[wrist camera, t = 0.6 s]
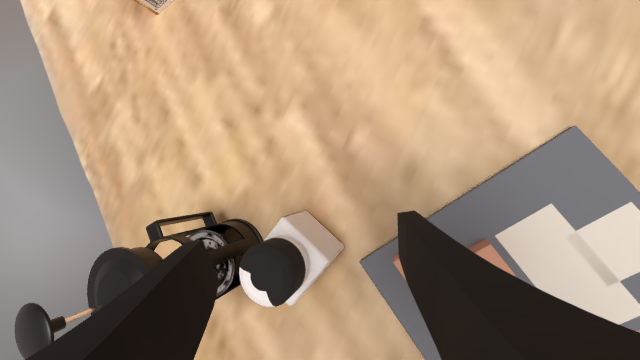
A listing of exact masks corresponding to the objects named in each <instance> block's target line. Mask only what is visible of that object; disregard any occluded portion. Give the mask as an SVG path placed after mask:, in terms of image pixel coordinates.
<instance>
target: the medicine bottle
mask: <svg viewBox="0 0 640 360" xmlns="http://www.w3.org/2000/svg"><path fill="white" fill-rule="evenodd" d="M343 249H344V245H343V244H342V243H341V242H340V241H339V240H338V239H337V238H335V237H334V236H333V235H332V234H331V233H330V232H329V231H328V230H327V229H326V228H325V227H324V226H323V225H321V224H320V223H319V222H318V221H317V220H316V219H315V218H314V217H313V216H312V215H311V214H310V213H309V212H307V211H302V212H298V213H295V214H291V215H288V216H285V217H282V218H281V219H280V220H279V222H278V223H277V224H276V225H275V227H274V228H273V229H272V231H271V232H270V233H269V235H268V236H267V237H266V238H265V240H264V241H263V242H260V243H258V244H256V245H254V246H252V247H250V248H249V249H248V250H247V251H246V252H245V254H244V255H243V257H242V259H241V262H240V268H239V275H240V281H241V284H242V287H243V289H244V291H245V292H246V294H247V295H248V296H249V297H250V298H251V299H252V300H253V301H254V302H256V303H258V304H259V305H262V306H266V307H276V306H279V305H281V304H283V303H284V302H286V303H287V304H288V305H289V306H292V305H293V304H294V303H295V302H296V301H297V300H298V299H299V298H300V297H301V296H302V295H303V294H304V293H305V292H306V291H307V290H308V289H309V288H310V286H311V285H312V284H313V283H314V282H315V281H316V280H317V279H318V278H319V276H320V275H321V274H322V273H323V272H324V271H325V269H326V268H327V267H328V266H329V265H330V264H331V263H332V261H333V260H334V259H335V258H336V257H337V256H338V254H339V253H340V252H341V251H342V250H343Z"/></svg>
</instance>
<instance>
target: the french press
mask: <svg viewBox="0 0 640 360" xmlns="http://www.w3.org/2000/svg"><path fill="white" fill-rule="evenodd" d="M196 219H203V221H204V223H205V226H206V227H203V228H198V229H194V230H190V231H185V232H181V233H177V234H172V235H168V236H163V233H162V231H161V228H160V226H164V225H169V224H175V223H180V222H185V221H191V220H196ZM230 228H233V229H234V230H236V231H237V232H238V233H239V234H240V235H241V236H242V237H243V239H242V240H239V241H236V242H234V243H231V244H230V243H229V242H228V241H227V240H226V239H225V238H224V237H223V236H222V234H223V233H224V232H225V231H226V230H228V229H230ZM146 230H147V233H148V236H149V239H150V243H149V244H148V245H147V246H146V247H145V248H143V247H138V248H133V249H129V248H124V247H118V248H112V249H109V250H107V251H105V252H104V253H102V254H101V255H100V256H99V257H98V258H97V260H96V261H95V263H94V265H93V266H92V269H91V272H90V275H89V279H88V288H87V291H88V292H87V296H88V304H89V309H88V310H85V311H83V312H80V313H78V314H75V315H73V316H70V317H68V318H64V317H63V316H61V317H58V318H55V319H52V320H50V318H49V316H48V314H47V313H46V311H45V310H44V309H43V308H42V307H41V306H40V305H38V304H35V303H28V304H26V305H24V306H23V307H22V308H21V309H20V311H19V313H18V315H17V317H16V321H15V339H16V343H17V346H18V349H19V351H20V353H21V355H22V356H23V357H24V359H27V358H28V357H30V356H32V355H33V354H35V353H36V352H38V351H40V350H41V349H43V348H44V347H46V346H48V345H49V344H51V343H52V342H54V333H55V332H57V331H59V330H61V329H64V328H65V326H66V323H68V322H71V321H73V320H76V319H78V318H80V317H83V316H85V315H88V314H90V313H91V316H92V315H93V314H94V313H96V312H97V311H99V310H100V309H101V308H103V307H104V306H105V305H106V304H108V303H109V302H110V301H112V300H113V299H114V298H116V297H117V296H118V295H120V294H121V293H122V292H123V291H125V290H126V289H127V288H129V287H130V286H131V285H133V284H134V283H135V282H136V281H138V280H139V279H140V278H141V277H142V276H144V275H145V274H146V273H147V272H149V271H150V270H151V269H152V268H154V267H155V266H156V265H157V264H159V263H160V262H161V261H162V260H163V259H162V258H161V257H160V256H159V255H158V254H157V253H156V252H154V250H155V248H156V247H157V245H158V244H159V243H160V242H163V241H167V240H171V239H172V240H175V241H178V242H179V243H181V244H182V245H183V244H185V243H186V242H191V241H198V240H203V242H204V245H205V247H206V249H207V252H208V254H209V256H210V259H211V261H212V263H213V265H214V268H215V270H216V272H217V275H218V277H219V279H220V282H219V286H218V291H217V295H216V299H218V298H220V297H221V296H223V295H224V294H226V293H228V292H229V291H231V290H233V289H234V288H236V287H237V286H239V285H241V281H240V275H239V274H235V271H236V258H235V257H237V256H239V255H242V254H244V253H245V252H246V251H247V250H248V249H249V248H250V247H252V246H254V245H256V244H258V243H260V242H263V240H262V237H261V235H260V233H259V232H258V231H257V229H256V228H255V227H254V226H253V225H251V224H250V223H248V222H247V221H244V220H241V219H231V220H227V221H225V222H223V223H220V224H217V222H216V220H215V217H214V215H213V213H212V212H205V213H199V214H192V215H186V216H180V217H174V218H168V219H162V220H157V221H155V222H153V223H152V224H150V225H148V226H147V227H146ZM187 235H190V236H189V237H186V236H187ZM226 289H227V290H226ZM216 299H215V300H216Z"/></svg>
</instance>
